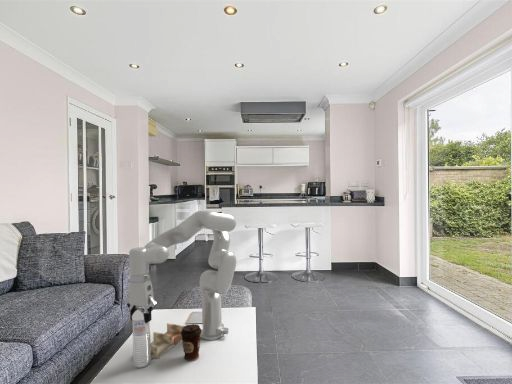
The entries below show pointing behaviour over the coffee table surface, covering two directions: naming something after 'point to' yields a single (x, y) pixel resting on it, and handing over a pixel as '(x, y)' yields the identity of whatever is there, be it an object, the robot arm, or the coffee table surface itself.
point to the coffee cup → (191, 341)
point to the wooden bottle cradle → (165, 340)
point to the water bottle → (141, 339)
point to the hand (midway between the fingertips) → (141, 320)
